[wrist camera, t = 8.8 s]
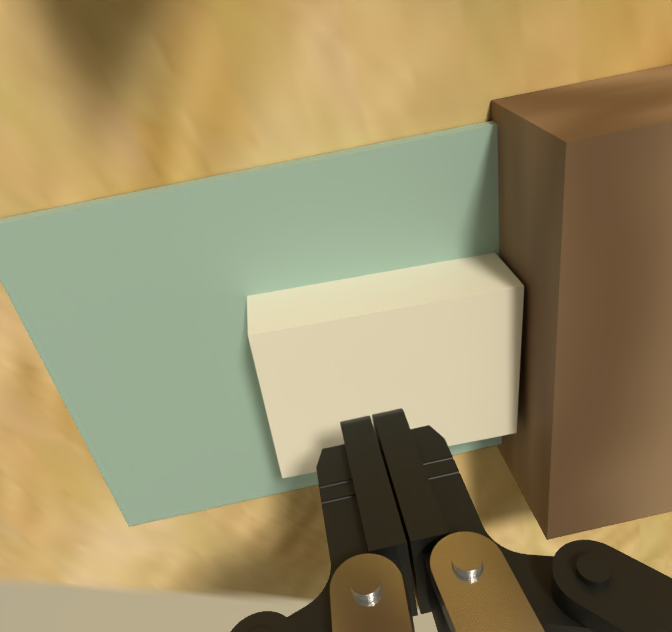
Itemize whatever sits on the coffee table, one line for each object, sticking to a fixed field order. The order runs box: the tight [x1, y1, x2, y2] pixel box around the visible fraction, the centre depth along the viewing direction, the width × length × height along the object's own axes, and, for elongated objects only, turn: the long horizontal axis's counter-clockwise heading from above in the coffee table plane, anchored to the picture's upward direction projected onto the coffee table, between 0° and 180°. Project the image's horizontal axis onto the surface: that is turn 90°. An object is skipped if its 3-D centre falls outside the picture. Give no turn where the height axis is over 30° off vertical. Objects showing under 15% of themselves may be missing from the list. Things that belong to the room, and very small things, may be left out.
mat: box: [0, 121, 502, 526], centre depth 18 cm, size 13×11×1 cm
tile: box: [247, 252, 524, 478], centre depth 17 cm, size 7×5×2 cm
